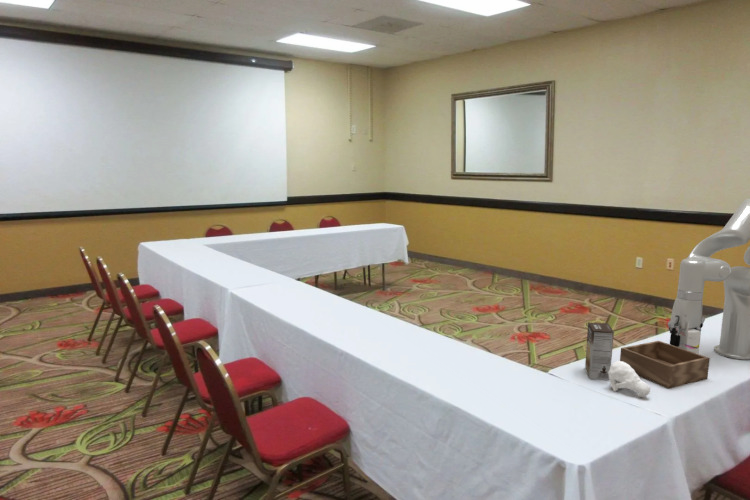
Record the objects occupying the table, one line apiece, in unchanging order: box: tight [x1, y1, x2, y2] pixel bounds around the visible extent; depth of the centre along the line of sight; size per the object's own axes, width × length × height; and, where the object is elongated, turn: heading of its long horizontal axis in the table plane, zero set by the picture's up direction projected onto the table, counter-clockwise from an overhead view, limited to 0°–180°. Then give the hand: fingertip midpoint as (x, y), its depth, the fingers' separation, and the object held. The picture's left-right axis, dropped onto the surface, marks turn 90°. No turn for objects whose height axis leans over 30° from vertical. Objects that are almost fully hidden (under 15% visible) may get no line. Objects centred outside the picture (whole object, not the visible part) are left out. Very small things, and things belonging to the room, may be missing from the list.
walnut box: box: [619, 340, 711, 390], centre depth 173 cm, size 18×18×7 cm
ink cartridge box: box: [676, 323, 702, 355], centre depth 184 cm, size 9×5×15 cm, turn 5°
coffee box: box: [584, 322, 615, 381], centre depth 171 cm, size 9×6×16 cm
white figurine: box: [608, 360, 651, 399], centre depth 159 cm, size 6×8×12 cm
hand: (684, 343), depth 184 cm, fingers open, 9 cm apart
